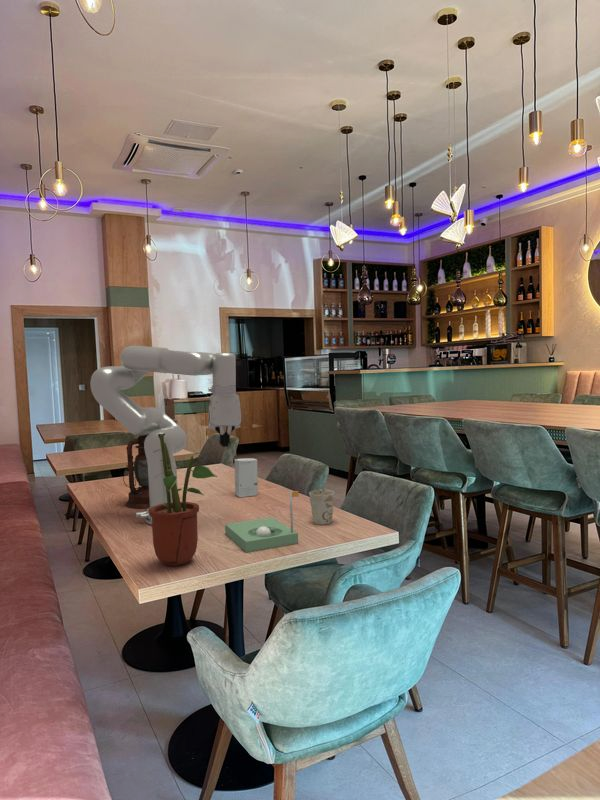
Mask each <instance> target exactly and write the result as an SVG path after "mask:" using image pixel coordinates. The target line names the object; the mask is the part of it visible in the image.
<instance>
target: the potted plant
mask: <svg viewBox="0 0 600 800" xmlns="http://www.w3.org/2000/svg"><path fill="white" fill-rule="evenodd" d="M165 434H166V433H164V434H158V437H159V439H160V443H161V450H162V459H163V460H161V461H163V467H164V476H165V477H164V479H163V483H164V485H165V487H166V494H167V503H164V504H159V505H156V506H153V507H151V508H150V509H149V515H150V516H151V517H152V525H151V530H152V545H153V549H154V554H155V556H156V557H157V559H158V560H159V562H160V563H162V564H164V565H166V566H168V567H179V566H182V565H183V566H184V565H185V564H187V563H188V562H190V561H191V560H192V559H193V557H194V556H195V553H196V552H197V549H198V548H197V547H198V538H199V537H198V532H199V531H198V513H199V512H200V505H199V504H198V503H195V502H189V501H187V493H188V492H189V493H193V494H198V495H202V496H204V493H202V491H201V490H200V489H198V488H195V487H189V481H190V477H191V478H194V479H203V480H204V479H207V478H217V477H218V475H216V474H215V473H214V472H213V471H212V470H211V469H210V467H208V466H205V465H201V464H198V465H195V466H194V468H193V465H194V464H195V459H194V456H195V455H198V454H200V452H196V453H194V454H192V456H191V457H190V459H186V461H187V462H188V464H187V468H186V472H185V477H184V483H183V488H178V489H177V486H178V484H177V485H176V478H177V479H178V476H177V477H176V476H174V474H173V471H172V467H171V462H170V457H169V452H168V449H167V446H166V443H164V435H165ZM159 450H160V449H159ZM157 451H158V450H157ZM153 452H154V451H153ZM155 452H156V451H155ZM192 468H193V469H192ZM191 472H192V473H191ZM191 474H192V475H191ZM159 475H160V474H159ZM190 475H191V476H190ZM157 476H158V475H157ZM170 490H171V493H172V501H173V502H171V495H170ZM180 491H182V500H181V498H180V494H179V492H180Z"/></svg>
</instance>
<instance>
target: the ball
mask: <svg viewBox="0 0 600 800" xmlns="http://www.w3.org/2000/svg"><path fill="white" fill-rule="evenodd" d="M256 534H258V535H270V534H271V531H270V529H269V528H268V527H265V526H262V527H259V528H258V529H257V531H256Z"/></svg>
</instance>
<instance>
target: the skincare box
mask: <svg viewBox="0 0 600 800" xmlns="http://www.w3.org/2000/svg"><path fill="white" fill-rule="evenodd" d="M258 484H259V483H258V459H257V458H253V457H251V458H250V457H249V458H245V457H244V458H237V459H236V458H235V459H234V495H235V496H236V497H238V498H247V497H254V496H255V497H256V496H258V493H259V492H258V488H259V487H258Z"/></svg>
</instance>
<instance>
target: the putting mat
mask: <svg viewBox="0 0 600 800" xmlns="http://www.w3.org/2000/svg"><path fill="white" fill-rule="evenodd" d="M299 495H300V494H299V491H298V490H297V491H296V490H295V491H289V506H290V510H289V511H290V527H289V526H287V525H286V524H285V523H283V522H281V521H279V520H278V519H276V518H275V517H273V516H271V517H270V516H269V517H264V518H259V519H258V518H257V519H249V520H244V521H236V522H232V523H230V522H229V523H225V524H224V531H225V535H226V536H228V538H230V539H231V540H232V541H233V543H235V544H236V545H238V546H239V548H241V549H242V550H243V551H244V552H245V553H251V552H256V551H261V550H267V549H268V550H269V549H274V548H279V547H284V546H290V545H295V544H299V532H298V531H295V530H294V522H293V521H294V518H293V498H297V497H299ZM262 526H265V527H268V528H269V529H270V531H271V534H270V535H258V534H256V531H257V529H258V528H259V527H262Z"/></svg>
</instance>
